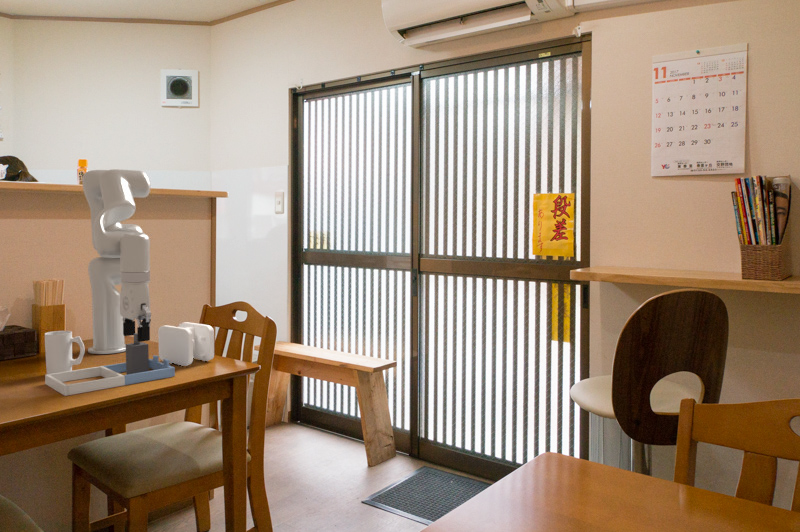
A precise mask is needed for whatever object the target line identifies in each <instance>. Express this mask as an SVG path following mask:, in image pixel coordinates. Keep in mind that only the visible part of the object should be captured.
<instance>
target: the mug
mask: <svg viewBox="0 0 800 532" xmlns="http://www.w3.org/2000/svg"><path fill="white" fill-rule="evenodd" d="M73 343H76V344H77V345H78V346H79V349H80V352H79V355H78V357H77V358H75V359H74V358H73ZM44 348H45V366H46V368H45V369H46V375H47V374H53V373H60V372H67V371H73V366H75V365H77V366H78V365H80V364H81V362H82V360H83V357H84V355H85V351H86V350H85V348H86V347H85V345H84V341H83V340H82V338H81V336H80V335H79V336H74V337H73V331H72V330H55V331H48V332H45V333H44Z"/></svg>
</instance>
